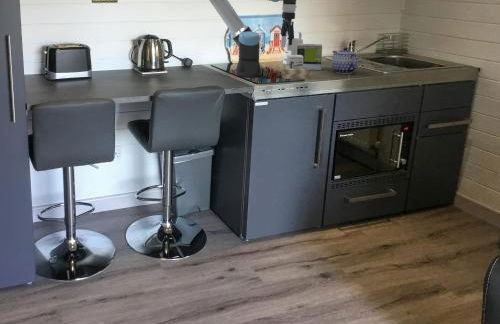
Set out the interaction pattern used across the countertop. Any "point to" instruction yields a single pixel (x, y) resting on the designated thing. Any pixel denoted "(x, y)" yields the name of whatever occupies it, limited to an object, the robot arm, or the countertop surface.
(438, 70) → the countertop surface
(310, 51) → the tea box
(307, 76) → the batten
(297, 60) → the ink box
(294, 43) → the grater
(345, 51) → the teapot
